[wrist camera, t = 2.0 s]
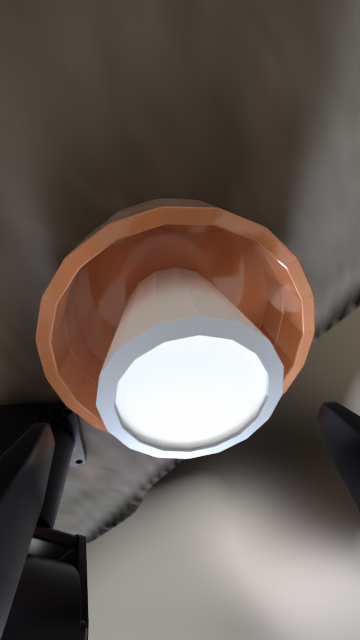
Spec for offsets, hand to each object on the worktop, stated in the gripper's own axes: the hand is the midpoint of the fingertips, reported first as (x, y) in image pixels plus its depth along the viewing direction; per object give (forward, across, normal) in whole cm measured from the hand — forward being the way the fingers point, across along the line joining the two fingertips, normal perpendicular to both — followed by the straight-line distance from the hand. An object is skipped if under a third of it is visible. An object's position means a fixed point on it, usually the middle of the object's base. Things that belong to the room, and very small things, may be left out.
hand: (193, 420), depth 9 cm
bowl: (+8, 0, 0) cm, 8 cm away
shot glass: (+8, 0, 0) cm, 8 cm away
